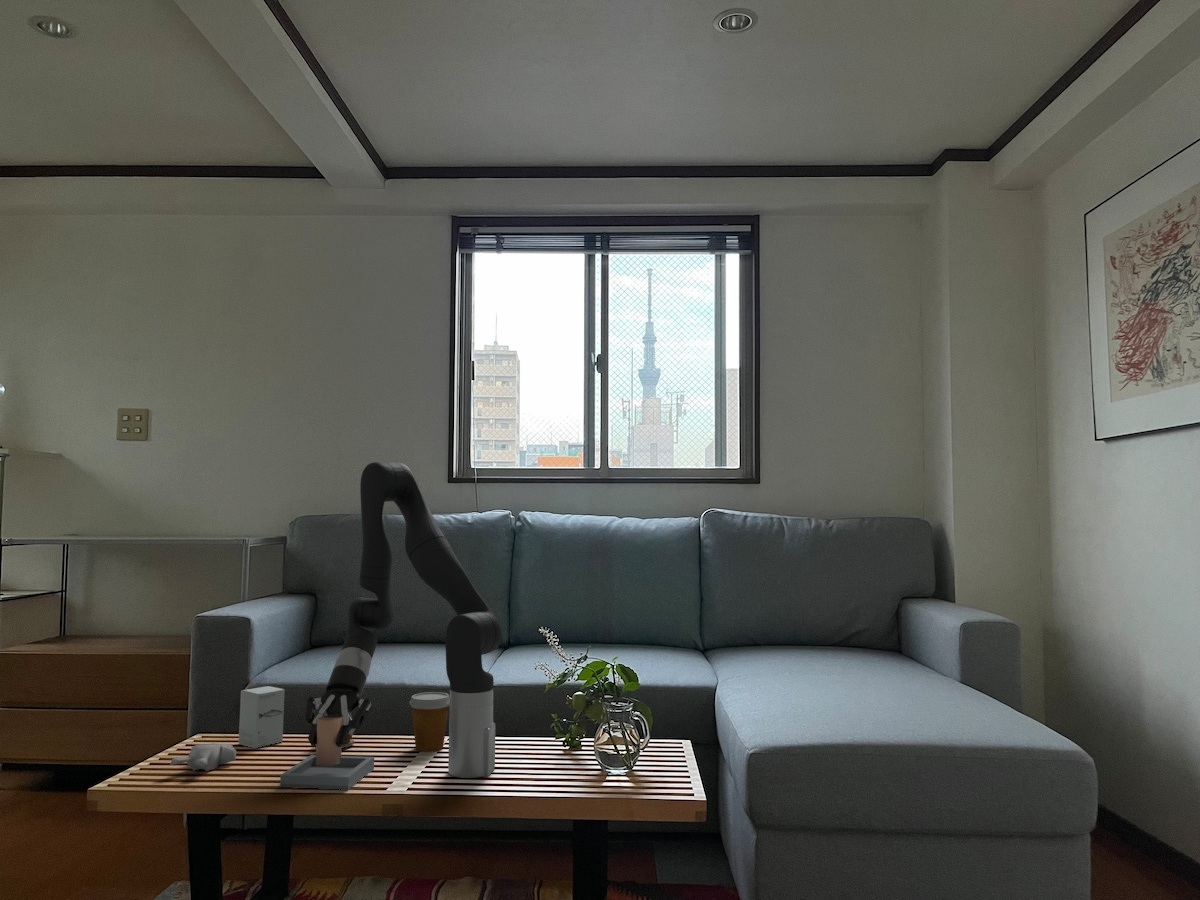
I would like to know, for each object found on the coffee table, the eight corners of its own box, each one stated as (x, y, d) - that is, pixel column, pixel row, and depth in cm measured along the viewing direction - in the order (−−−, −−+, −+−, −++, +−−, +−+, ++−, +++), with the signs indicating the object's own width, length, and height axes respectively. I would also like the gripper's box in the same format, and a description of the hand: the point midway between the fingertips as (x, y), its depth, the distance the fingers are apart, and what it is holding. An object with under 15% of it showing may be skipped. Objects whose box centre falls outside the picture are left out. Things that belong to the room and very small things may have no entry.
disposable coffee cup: (453, 751, 192) (454, 698, 193) (412, 755, 188) (413, 701, 189) (445, 741, 201) (446, 690, 202) (405, 745, 197) (406, 693, 198)
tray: (373, 769, 178) (374, 757, 178) (348, 790, 164) (348, 777, 165) (310, 767, 180) (311, 755, 180) (280, 787, 166) (280, 774, 166)
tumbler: (344, 759, 175) (346, 715, 175) (335, 766, 170) (336, 721, 170) (321, 758, 175) (323, 714, 176) (311, 765, 170) (313, 720, 171)
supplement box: (254, 749, 193) (256, 693, 194) (237, 744, 198) (239, 689, 199) (283, 742, 199) (285, 688, 200) (266, 737, 203) (268, 684, 204)
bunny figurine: (247, 740, 186) (208, 751, 171) (244, 765, 185) (205, 777, 170) (207, 739, 187) (165, 749, 172) (204, 763, 186) (162, 775, 171)
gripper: (313, 662, 182) (286, 733, 169) (377, 664, 181) (354, 736, 168) (323, 682, 187) (296, 753, 174) (385, 684, 185) (363, 755, 173)
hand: (325, 744), depth 171 cm, fingers closed on tumbler, 5 cm apart
